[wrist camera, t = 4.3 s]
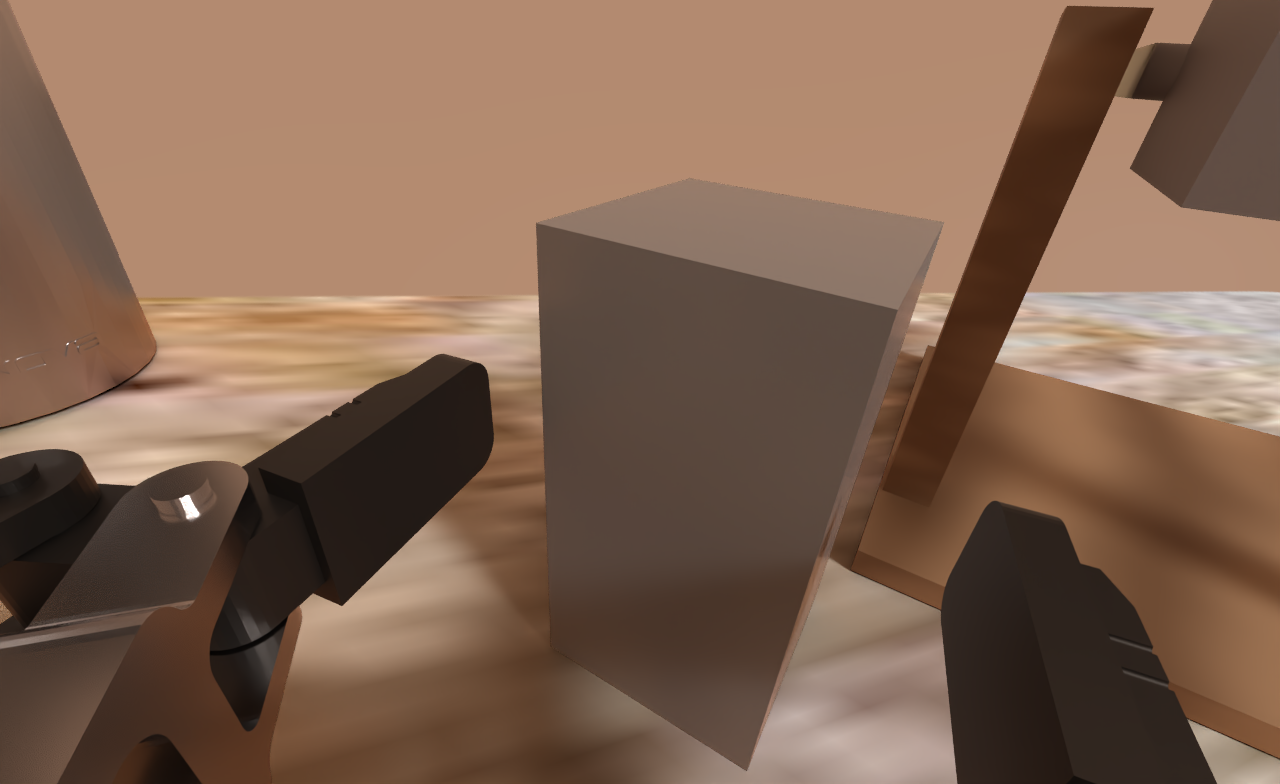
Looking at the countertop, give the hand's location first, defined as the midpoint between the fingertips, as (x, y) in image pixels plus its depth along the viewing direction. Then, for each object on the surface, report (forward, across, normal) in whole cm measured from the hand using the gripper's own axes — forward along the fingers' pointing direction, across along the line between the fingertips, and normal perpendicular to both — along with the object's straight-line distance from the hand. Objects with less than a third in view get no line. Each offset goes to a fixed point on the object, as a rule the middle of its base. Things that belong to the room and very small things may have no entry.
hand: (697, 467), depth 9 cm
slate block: (+2, 0, +7) cm, 7 cm away
